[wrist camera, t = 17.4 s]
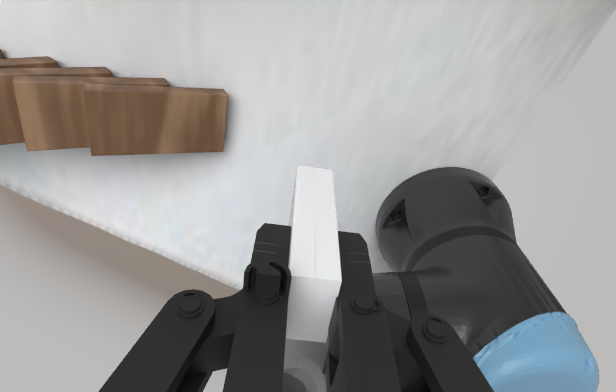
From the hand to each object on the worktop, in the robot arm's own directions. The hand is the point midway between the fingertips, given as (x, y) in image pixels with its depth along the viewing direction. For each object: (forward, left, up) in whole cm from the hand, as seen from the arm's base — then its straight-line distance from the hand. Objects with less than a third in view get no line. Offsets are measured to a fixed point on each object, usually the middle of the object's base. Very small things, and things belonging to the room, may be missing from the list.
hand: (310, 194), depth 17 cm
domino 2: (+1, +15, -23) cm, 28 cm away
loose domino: (-2, +10, -23) cm, 25 cm away
